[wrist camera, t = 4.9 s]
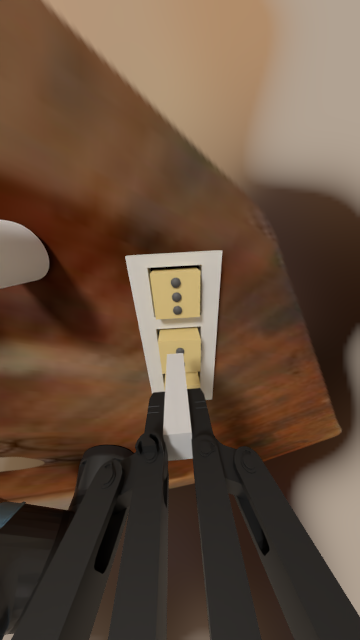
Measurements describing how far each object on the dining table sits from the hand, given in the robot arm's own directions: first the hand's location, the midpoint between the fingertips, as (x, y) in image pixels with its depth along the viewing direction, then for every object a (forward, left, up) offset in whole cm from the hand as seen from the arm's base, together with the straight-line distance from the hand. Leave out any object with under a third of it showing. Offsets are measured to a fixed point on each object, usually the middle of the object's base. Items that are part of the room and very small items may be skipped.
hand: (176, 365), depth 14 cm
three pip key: (+4, -1, -11) cm, 12 cm away
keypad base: (-5, 0, -12) cm, 13 cm away
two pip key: (-5, -1, -10) cm, 11 cm away
